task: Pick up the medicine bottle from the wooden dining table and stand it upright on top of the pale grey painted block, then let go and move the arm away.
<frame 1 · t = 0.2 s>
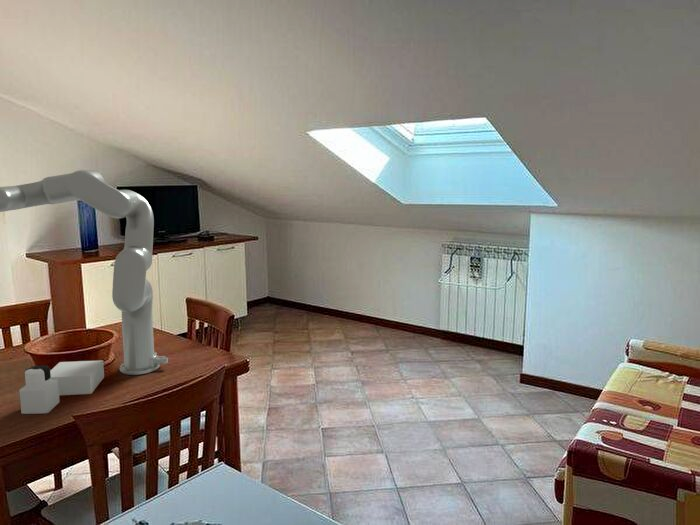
grey block: (75, 387, 161), on the table
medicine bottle: (41, 409, 145), on the table
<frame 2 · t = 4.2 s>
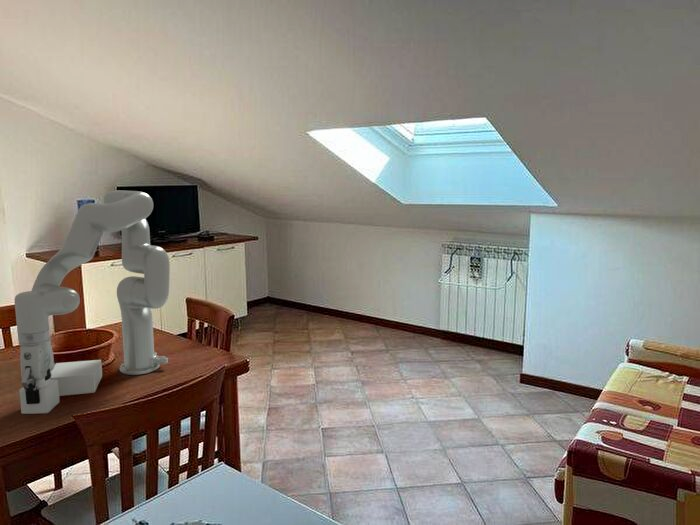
hand: (39, 396, 145), 3 cm above the table, tool pointing down, fingers closed on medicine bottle, 7 cm apart
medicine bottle: (41, 408, 145), on the table, touching gripper
when the fingers open (11 cm above the table, at t = 9.7 s): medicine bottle drops 2 cm, resting on grey block.
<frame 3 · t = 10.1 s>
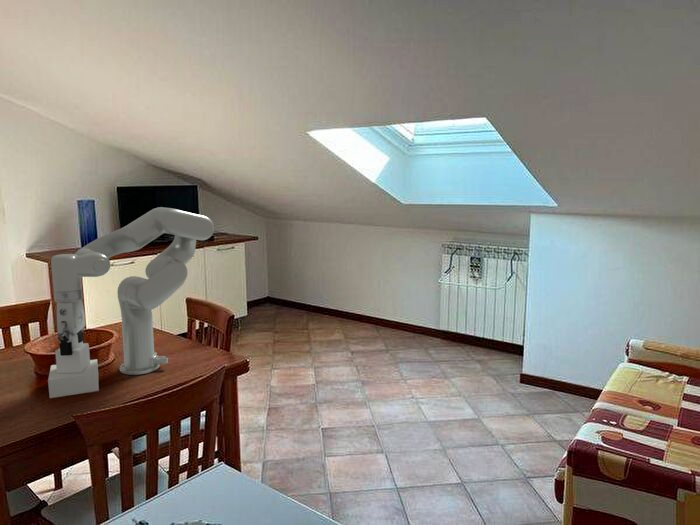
hand: (72, 349, 158), 12 cm above the table, tool pointing down, fingers open, 9 cm apart
grey block: (75, 387, 160), on the table, touching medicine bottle
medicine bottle: (74, 369, 159), point 5 cm above the table, touching grey block
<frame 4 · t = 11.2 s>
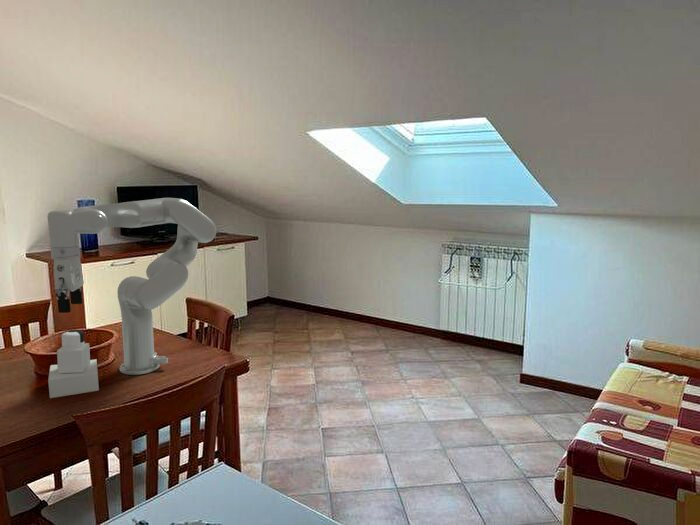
hand: (71, 307, 157), 25 cm above the table, tool pointing down, fingers open, 9 cm apart
grey block: (75, 387, 161), on the table
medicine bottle: (74, 369, 159), point 5 cm above the table
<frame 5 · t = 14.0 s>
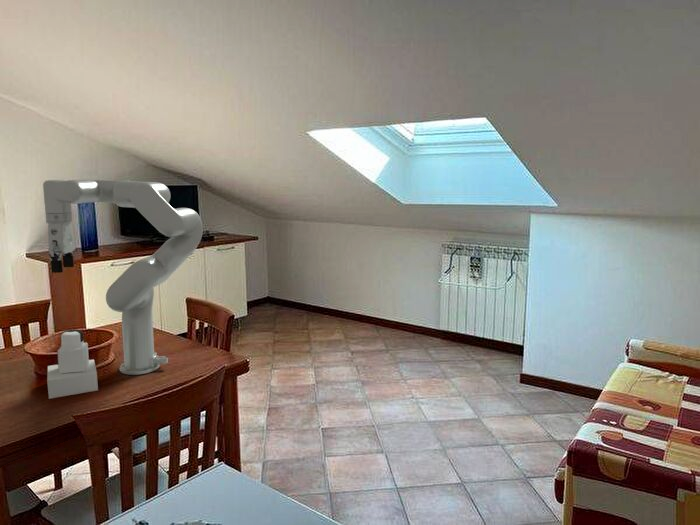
hand: (63, 269, 172), 33 cm above the table, tool pointing down, fingers open, 9 cm apart
grey block: (73, 387, 160), on the table, touching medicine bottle
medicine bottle: (74, 369, 159), point 5 cm above the table, touching grey block
at the end: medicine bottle inside the target area on the grey block (0.6 cm from its centre), point 5.9 cm above the grey block's base; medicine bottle tilted 2°; the gripper is holding nothing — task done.
